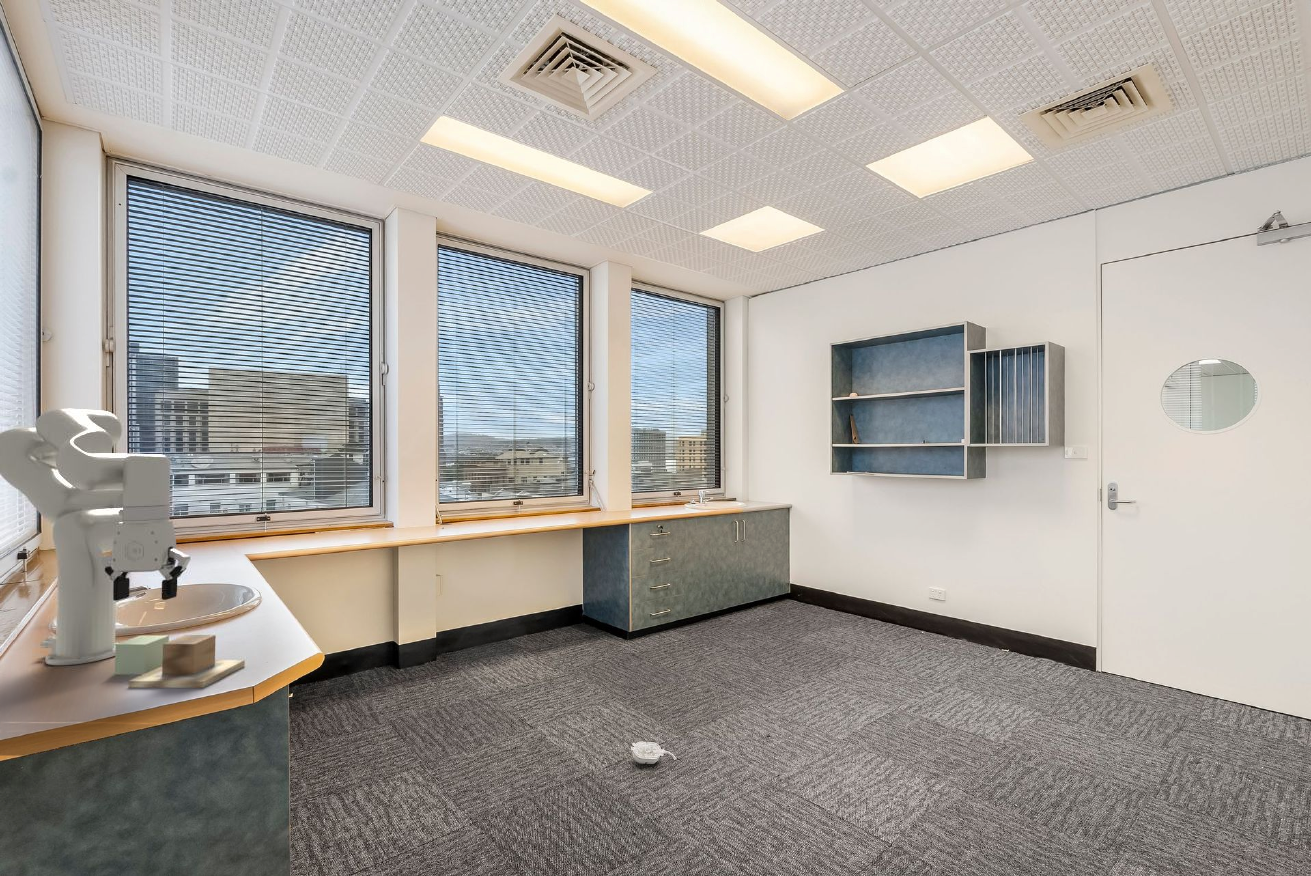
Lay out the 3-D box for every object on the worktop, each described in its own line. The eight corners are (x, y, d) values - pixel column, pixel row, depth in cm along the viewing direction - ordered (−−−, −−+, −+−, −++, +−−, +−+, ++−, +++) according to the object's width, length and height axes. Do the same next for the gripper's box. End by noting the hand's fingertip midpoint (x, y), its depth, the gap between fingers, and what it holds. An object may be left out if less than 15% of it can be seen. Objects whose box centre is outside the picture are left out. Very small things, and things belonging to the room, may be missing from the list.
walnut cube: (162, 675, 121) (162, 644, 121) (184, 664, 127) (185, 634, 127) (193, 675, 121) (194, 644, 121) (214, 664, 127) (215, 635, 127)
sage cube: (114, 674, 125) (115, 644, 125) (139, 664, 131) (139, 635, 131) (145, 674, 125) (145, 644, 125) (168, 664, 131) (168, 635, 131)
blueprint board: (128, 687, 118) (128, 680, 118) (176, 665, 130) (176, 659, 130) (203, 687, 118) (203, 681, 118) (244, 665, 130) (244, 660, 130)
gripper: (87, 516, 125) (86, 603, 124) (175, 515, 125) (174, 602, 124) (119, 513, 132) (118, 595, 132) (202, 512, 132) (201, 594, 132)
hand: (145, 598), depth 128 cm, fingers open, 9 cm apart
